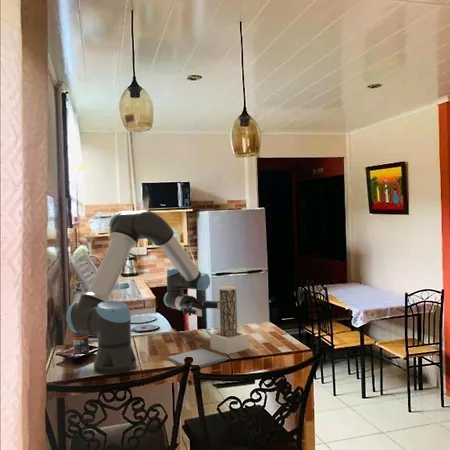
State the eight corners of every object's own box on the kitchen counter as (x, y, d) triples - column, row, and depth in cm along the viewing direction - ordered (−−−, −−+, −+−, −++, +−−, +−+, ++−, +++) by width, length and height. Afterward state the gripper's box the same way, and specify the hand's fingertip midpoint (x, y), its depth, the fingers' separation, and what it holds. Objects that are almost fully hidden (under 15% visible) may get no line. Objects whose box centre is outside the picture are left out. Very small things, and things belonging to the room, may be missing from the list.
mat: (190, 370, 166) (190, 367, 166) (167, 359, 179) (167, 356, 179) (226, 360, 176) (226, 357, 176) (202, 350, 189) (202, 348, 188)
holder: (227, 354, 183) (226, 339, 183) (210, 348, 192) (210, 333, 191) (248, 348, 190) (247, 334, 190) (231, 343, 198) (231, 329, 198)
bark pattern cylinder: (236, 351, 187) (234, 288, 186) (219, 350, 188) (217, 288, 187) (239, 346, 193) (237, 286, 193) (222, 345, 195) (221, 285, 194)
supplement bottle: (82, 352, 191) (81, 324, 191) (92, 354, 188) (91, 326, 187) (70, 356, 186) (69, 328, 186) (80, 358, 183) (79, 329, 182)
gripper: (209, 307, 222) (237, 314, 206) (163, 316, 207) (190, 324, 190) (208, 291, 222) (237, 297, 205) (162, 299, 207) (189, 306, 190)
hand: (214, 310), depth 198 cm, fingers open, 13 cm apart
